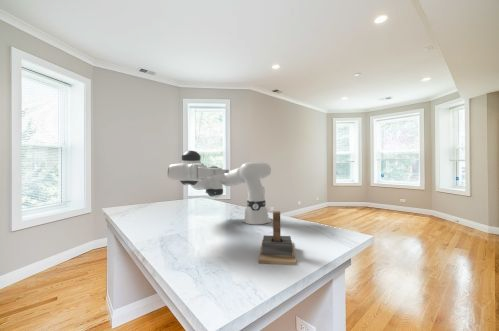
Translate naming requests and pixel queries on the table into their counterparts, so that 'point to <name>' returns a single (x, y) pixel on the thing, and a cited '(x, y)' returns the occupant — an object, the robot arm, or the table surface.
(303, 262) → the table surface
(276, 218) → the walnut slat
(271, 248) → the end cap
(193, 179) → the robot arm
